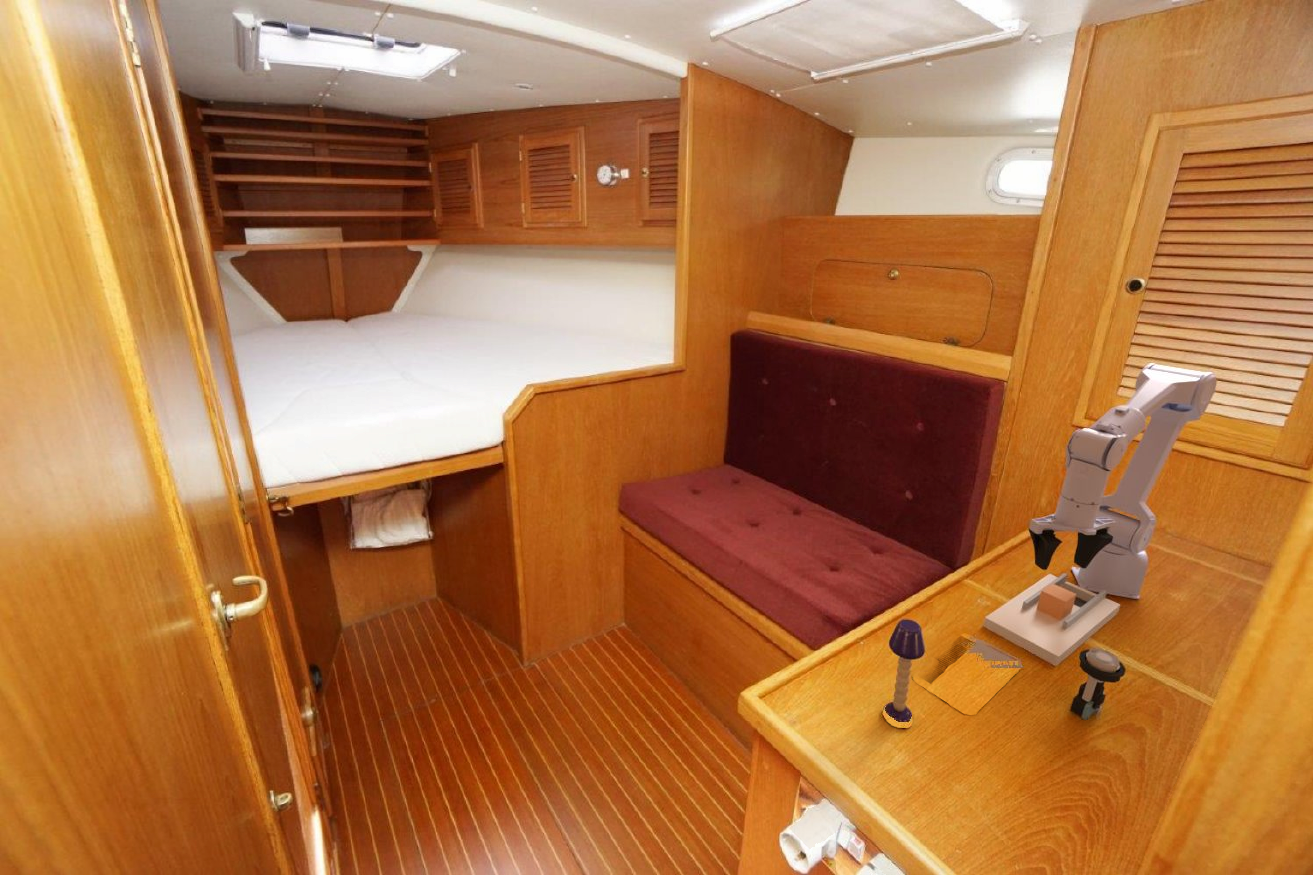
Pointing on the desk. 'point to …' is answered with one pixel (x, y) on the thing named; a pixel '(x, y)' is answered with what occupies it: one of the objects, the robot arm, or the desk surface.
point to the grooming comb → (992, 654)
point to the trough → (1051, 620)
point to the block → (1056, 601)
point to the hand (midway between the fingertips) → (1060, 566)
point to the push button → (1095, 680)
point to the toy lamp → (904, 665)
